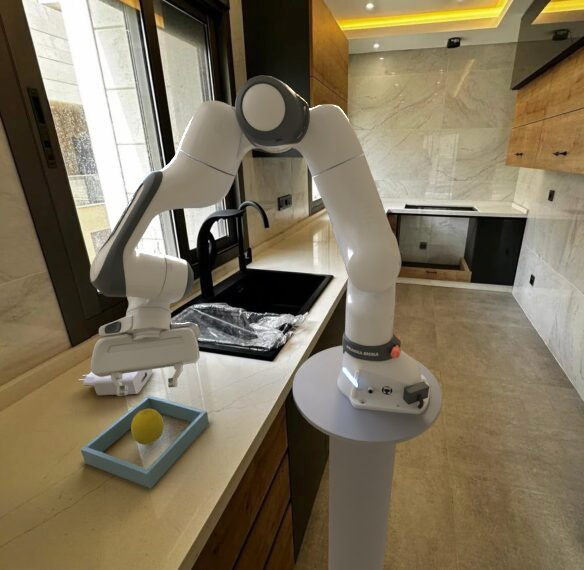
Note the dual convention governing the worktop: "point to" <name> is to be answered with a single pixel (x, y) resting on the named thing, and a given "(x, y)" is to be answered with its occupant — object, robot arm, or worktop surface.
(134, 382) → the charger
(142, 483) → the blue bin
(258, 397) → the worktop surface
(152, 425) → the lemon
